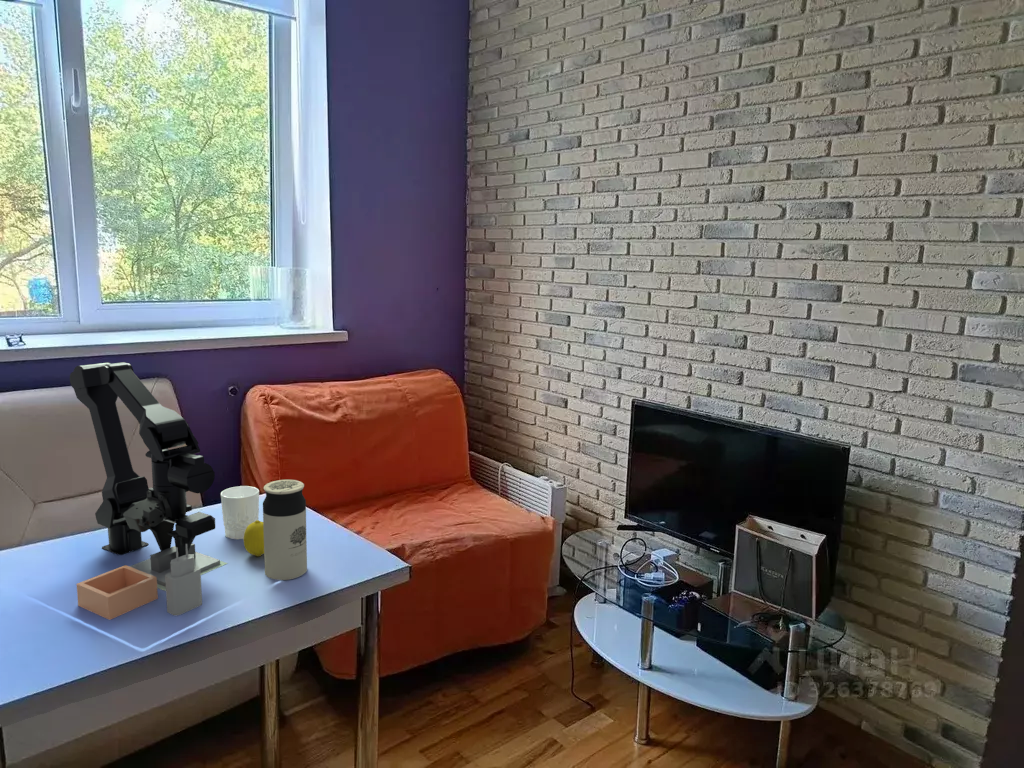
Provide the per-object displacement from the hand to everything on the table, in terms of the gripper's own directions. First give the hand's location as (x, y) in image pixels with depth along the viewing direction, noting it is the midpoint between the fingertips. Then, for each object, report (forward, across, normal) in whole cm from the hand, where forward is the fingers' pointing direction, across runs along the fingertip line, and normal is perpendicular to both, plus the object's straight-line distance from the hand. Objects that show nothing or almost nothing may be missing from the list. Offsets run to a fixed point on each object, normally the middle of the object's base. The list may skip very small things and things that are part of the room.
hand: (173, 558), depth 142 cm
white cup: (+3, -3, +19) cm, 19 cm away
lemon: (+3, +9, +13) cm, 16 cm away
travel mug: (+3, +19, +11) cm, 22 cm away
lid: (+2, 0, 0) cm, 2 cm away
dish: (+2, +4, -14) cm, 15 cm away
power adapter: (+3, +15, -9) cm, 18 cm away
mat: (+2, 0, 0) cm, 2 cm away
